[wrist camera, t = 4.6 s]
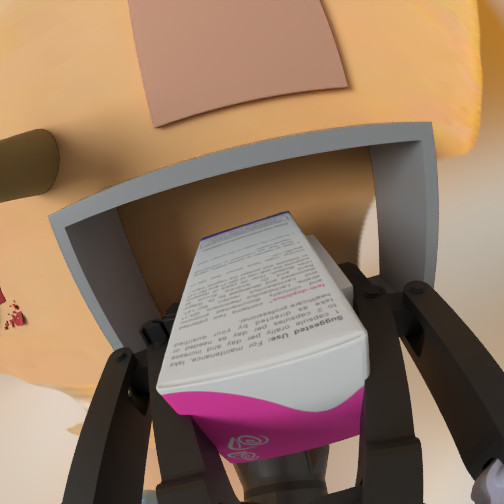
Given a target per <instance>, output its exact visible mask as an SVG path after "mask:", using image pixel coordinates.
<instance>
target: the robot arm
mask: <svg viewBox="0 0 504 504" xmlns="http://www.w3.org/2000/svg"><path fill="white" fill-rule="evenodd" d="M306 238H307V239H308V241H309V242H310V244H311V245H312V247H313V248H314V249H315V251H316V252H317V254H318V255H319V257H320V258H321V260H322V261H323V263H324V264H325V266H326V267H327V269H328V270H329V272H330V274H331V275H332V277H333V278H334V280H335V281H336V283H337V284H338V286H339V288H340V289H341V291H342V292H343V294H344V295H345V297H346V298H347V300H348V302H349V303H350V305H351V306H352V308H353V310H354V311H355V313H356V315H357V316H358V318H359V320H360V321H361V323H362V325H363V326H364V328H365V329H366V330H367V334H368V343H369V361H370V374H369V376H368V378H367V379H365V382H364V392H363V401H362V409H361V417H360V439H359V440H360V441H359V460H358V471H357V478H356V484H355V487H352V488H349V489H346V490H343V491H339V492H335V493H331V494H328V492H327V487H326V482H325V473H326V467H327V460H328V454H329V444H328V445H324V446H321V447H317V448H313V449H309V450H305V451H301V452H296V453H292V454H287V455H283V456H279V457H274V458H269V459H263V460H258V461H251V462H243V463H233V465H234V468H235V470H236V472H237V475H238V477H239V480H240V482H241V484H242V486H243V489H244V502H240V501H239V500H238V498H237V497H236V495H235V493H234V491H233V489H232V486H231V484H230V481H229V479H228V476H227V474H226V471H225V469H224V466H223V463H222V461H221V458H220V455H219V452H218V450H217V447H216V446H215V445H214V444H213V443H212V442H211V440H210V439H209V438H208V437H207V436H206V434H205V433H204V432H203V431H202V429H201V428H200V427H199V426H198V424H197V423H196V422H195V421H194V419H193V418H192V417H191V415H180V414H178V413H177V412H176V411H175V410H174V409H173V408H172V407H171V406H170V404H169V403H168V402H167V401H166V400H165V399H164V398H163V396H162V395H160V393H159V392H158V391H157V389H156V386H157V382H158V378H159V374H160V371H161V368H162V364H163V360H164V357H165V353H166V349H167V346H168V342H169V339H170V335H171V332H172V328H173V325H174V321H175V318H176V315H177V311H178V308H179V305H180V302H179V303H174V304H173V305H172V306H171V307H170V308H169V309H168V311H167V314H166V316H165V319H162V318H156V319H152V320H150V321H148V322H146V323H145V324H143V325H142V327H141V328H140V330H139V333H140V335H141V336H142V338H143V340H144V342H145V344H146V345H147V349H145V350H142V351H139V352H137V353H133V352H132V350H131V349H130V348H128V347H122V348H119V349H117V350H115V351H114V352H113V353H112V354H111V355H110V357H109V358H108V361H107V363H106V365H105V368H104V370H103V373H102V375H101V378H100V380H99V383H98V385H97V388H96V391H95V393H94V396H93V399H92V401H91V404H90V407H89V410H88V413H87V416H86V418H85V421H84V424H83V427H82V430H81V433H80V437H79V440H78V443H77V446H76V450H75V453H74V457H73V460H72V464H71V468H70V471H69V475H68V479H67V483H66V488H65V492H64V497H63V502H62V503H61V504H425V503H423V462H422V448H421V442H420V440H419V438H417V437H415V433H414V426H413V416H412V408H411V401H410V394H409V388H408V382H407V376H406V370H405V365H404V360H403V355H402V350H401V346H400V341H399V337H400V338H401V340H402V342H403V344H404V345H405V347H406V349H407V351H408V352H409V354H410V355H411V357H412V359H413V361H414V362H415V364H416V366H417V368H418V370H419V372H420V373H421V375H422V377H423V379H424V381H425V383H426V385H427V386H428V388H429V390H430V392H431V394H432V396H433V398H434V400H435V402H436V404H437V406H438V408H439V410H440V412H441V414H442V416H443V418H444V420H445V422H446V424H447V426H448V429H449V431H450V433H451V435H452V437H453V439H454V442H455V444H456V447H457V449H458V451H459V454H460V456H461V458H462V460H463V463H464V465H465V467H466V469H467V470H468V472H469V474H470V475H471V477H472V478H473V479H474V480H475V483H474V485H473V488H472V493H471V499H472V500H473V501H474V502H475V504H504V372H503V371H502V369H501V368H500V366H499V365H498V364H497V362H496V361H495V360H494V359H493V357H492V356H491V354H490V353H489V352H488V351H487V349H486V348H485V347H484V346H483V344H482V343H481V342H480V341H479V339H478V338H477V337H476V336H475V335H474V333H473V332H472V331H471V330H470V329H469V327H468V326H467V325H466V324H465V323H464V322H463V321H462V319H461V318H460V317H459V316H458V315H457V314H456V313H455V312H454V310H453V309H452V308H451V307H450V306H449V305H448V304H447V303H446V302H445V301H444V300H443V299H442V298H441V297H440V295H439V294H438V293H437V292H436V291H435V290H434V289H433V288H432V287H431V286H430V285H429V284H427V283H426V282H423V281H411V282H408V283H407V284H406V285H405V286H404V289H403V292H399V293H387V292H386V290H385V289H384V288H382V287H381V286H376V285H372V283H371V282H370V281H369V280H368V279H367V278H366V277H365V275H363V273H362V272H361V271H360V270H359V269H358V267H357V266H356V265H354V264H352V263H349V262H347V263H343V264H339V265H337V264H336V263H335V261H334V260H333V259H332V257H331V256H330V255H329V254H328V252H327V251H326V250H325V248H324V247H323V246H322V245H321V243H320V242H319V241H318V240H317V238H316V237H315V236H314V235H313V234H311V235H307V236H306ZM128 391H129V394H128ZM152 421H153V429H154V437H155V443H156V450H157V456H158V462H159V467H160V473H161V479H162V481H161V483H160V484H158V485H157V487H156V491H155V490H144V491H143V484H144V475H145V466H146V458H147V450H148V443H149V436H150V430H151V423H152Z"/></svg>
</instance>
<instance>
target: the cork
mask: <svg viewBox="0 0 504 504" xmlns="http://www.w3.org/2000/svg"><path fill="white" fill-rule="evenodd" d="M58 168H59V152H58V147H57V144H56V141H55V139H54V138H53V136H52V135H51V134H50V132H48V131H46V130H44V129H35V130H32V131H28V132H25V133H22V134H18V135H15V136H12V137H9V138H6V139H3V140H0V203H1V202H6V201H10V200H15V199H20V198H25V197H30V196H36V195H40V194H43V193H45V192H46V191H47V190H49V189H50V188H51V186H52V184H53V183H54V181H55V179H56V176H57V173H58Z"/></svg>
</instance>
